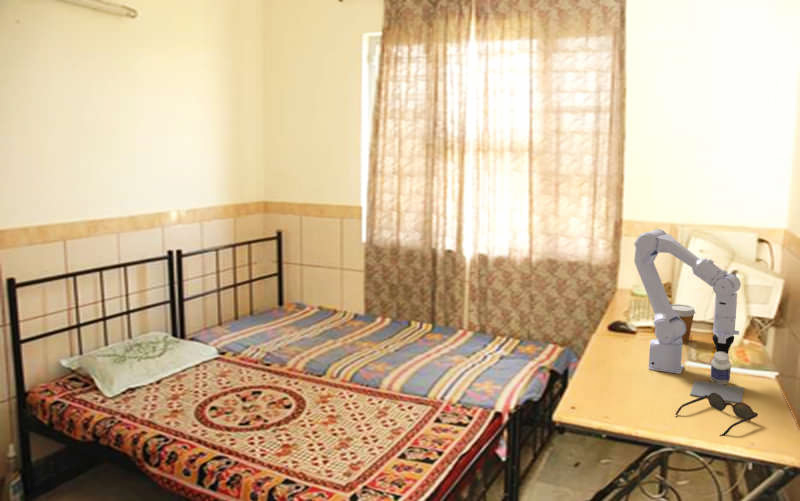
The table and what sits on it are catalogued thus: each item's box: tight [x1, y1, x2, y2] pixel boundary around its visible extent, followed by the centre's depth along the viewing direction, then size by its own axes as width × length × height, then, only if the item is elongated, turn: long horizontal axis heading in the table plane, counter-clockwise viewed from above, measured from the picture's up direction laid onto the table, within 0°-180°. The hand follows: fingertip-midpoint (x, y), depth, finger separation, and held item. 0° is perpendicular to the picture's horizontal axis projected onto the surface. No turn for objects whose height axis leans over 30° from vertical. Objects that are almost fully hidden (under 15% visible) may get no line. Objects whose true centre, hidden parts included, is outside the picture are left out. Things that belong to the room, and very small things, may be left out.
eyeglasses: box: [675, 393, 759, 436], centre depth 172 cm, size 15×15×5 cm
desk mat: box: [689, 379, 745, 404], centre depth 190 cm, size 13×12×1 cm
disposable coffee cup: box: [671, 303, 696, 344], centre depth 236 cm, size 10×10×12 cm
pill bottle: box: [709, 351, 732, 385], centre depth 195 cm, size 5×5×9 cm
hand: (722, 359), depth 197 cm, fingers closed
